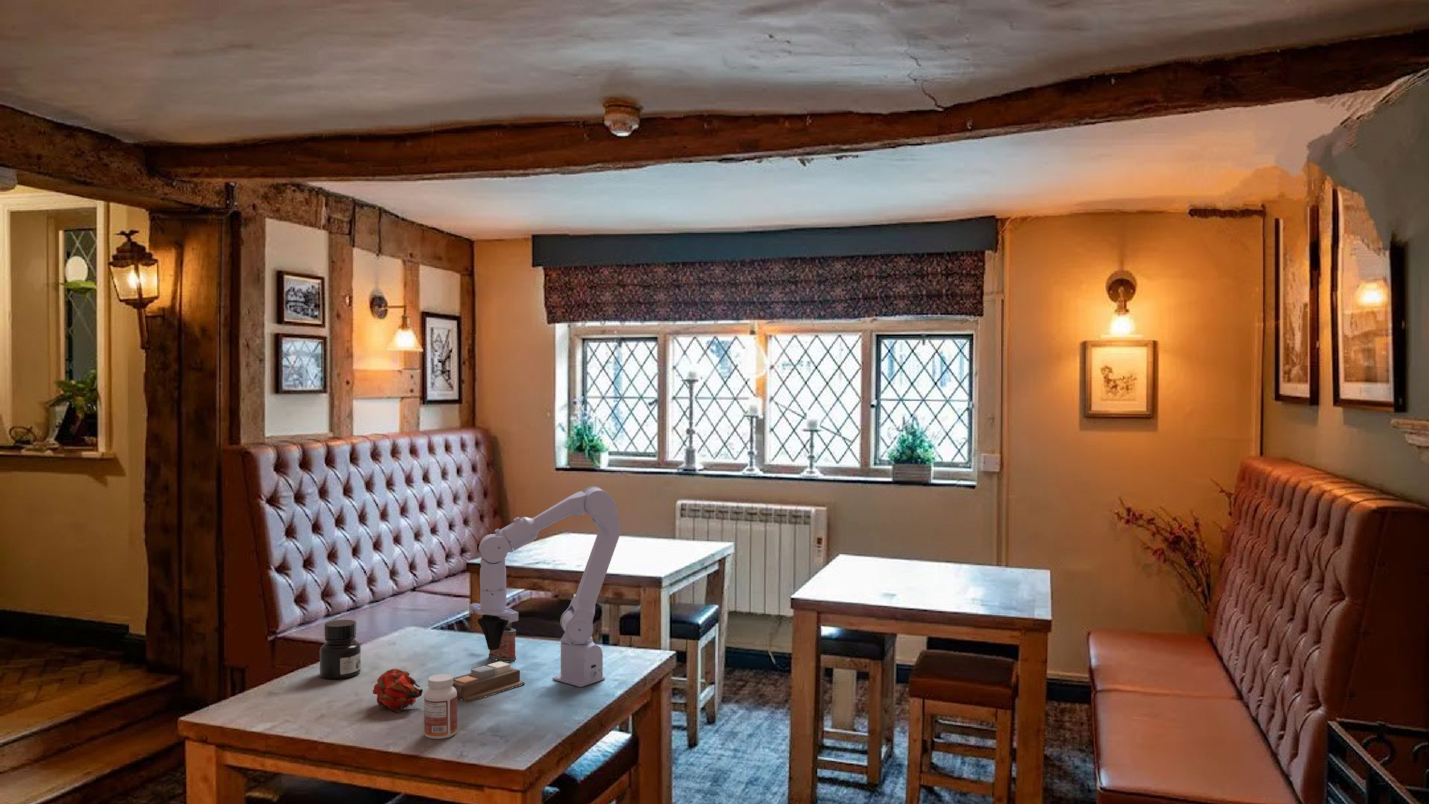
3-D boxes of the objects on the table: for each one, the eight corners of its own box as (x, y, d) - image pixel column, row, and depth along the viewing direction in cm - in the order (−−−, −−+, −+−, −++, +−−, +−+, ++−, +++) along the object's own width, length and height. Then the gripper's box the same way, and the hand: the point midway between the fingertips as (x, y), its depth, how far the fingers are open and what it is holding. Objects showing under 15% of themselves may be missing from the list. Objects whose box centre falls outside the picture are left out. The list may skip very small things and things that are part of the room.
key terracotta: (478, 689, 215) (478, 678, 215) (464, 693, 212) (464, 682, 212) (467, 686, 217) (467, 675, 217) (454, 690, 214) (454, 679, 214)
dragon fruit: (383, 706, 210) (413, 727, 203) (355, 691, 205) (385, 713, 197) (406, 670, 213) (437, 690, 206) (379, 655, 208) (410, 675, 200)
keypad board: (524, 684, 221) (524, 671, 221) (468, 702, 209) (468, 688, 209) (495, 676, 227) (495, 663, 227) (440, 692, 215) (440, 679, 215)
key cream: (510, 674, 222) (510, 664, 222) (497, 678, 219) (497, 667, 219) (499, 671, 224) (499, 661, 224) (487, 675, 221) (487, 664, 221)
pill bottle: (446, 726, 194) (446, 670, 194) (463, 734, 190) (463, 677, 190) (417, 734, 190) (418, 677, 190) (435, 742, 186) (435, 684, 185)
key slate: (494, 679, 218) (494, 668, 218) (481, 683, 215) (481, 672, 215) (484, 676, 220) (484, 665, 220) (471, 680, 218) (471, 669, 218)
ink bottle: (351, 681, 223) (351, 628, 223) (312, 680, 223) (312, 628, 223) (367, 668, 233) (367, 618, 232) (330, 668, 233) (330, 617, 233)
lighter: (519, 659, 241) (519, 619, 240) (509, 663, 238) (509, 622, 238) (495, 654, 245) (495, 614, 245) (485, 657, 242) (485, 617, 242)
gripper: (458, 587, 221) (458, 647, 221) (500, 596, 212) (501, 658, 212) (483, 582, 226) (483, 640, 227) (525, 590, 218) (525, 651, 218)
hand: (493, 649), depth 220 cm, fingers closed
